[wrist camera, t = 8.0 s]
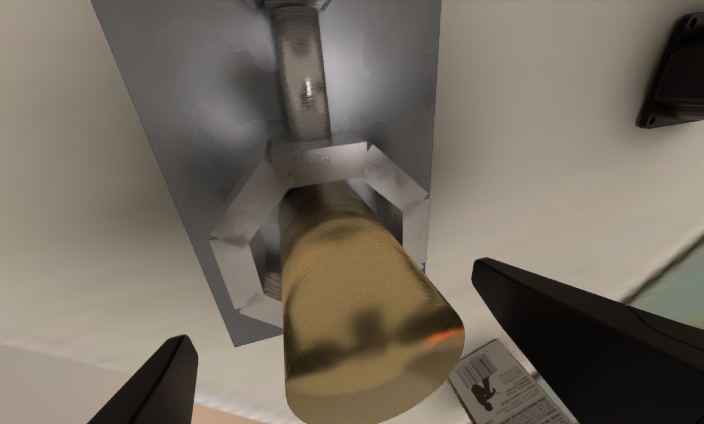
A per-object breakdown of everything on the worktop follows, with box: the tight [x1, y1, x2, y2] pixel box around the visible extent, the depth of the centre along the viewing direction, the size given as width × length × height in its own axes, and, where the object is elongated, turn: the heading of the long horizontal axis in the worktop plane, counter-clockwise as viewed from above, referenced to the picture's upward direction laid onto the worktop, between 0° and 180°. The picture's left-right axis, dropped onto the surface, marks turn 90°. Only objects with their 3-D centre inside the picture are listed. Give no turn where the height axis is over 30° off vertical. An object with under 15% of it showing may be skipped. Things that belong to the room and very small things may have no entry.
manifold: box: [91, 0, 441, 347], centre depth 10 cm, size 12×24×4 cm, turn 4°
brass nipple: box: [279, 181, 465, 424], centre depth 10 cm, size 4×4×8 cm
